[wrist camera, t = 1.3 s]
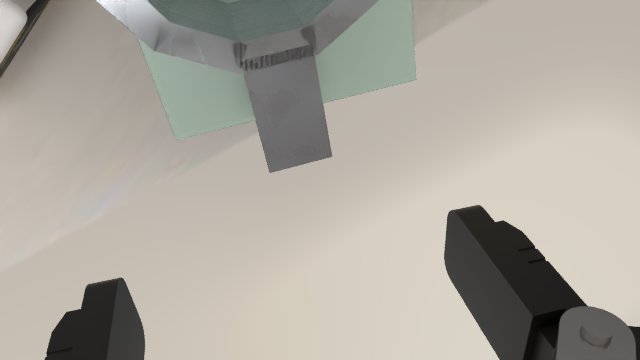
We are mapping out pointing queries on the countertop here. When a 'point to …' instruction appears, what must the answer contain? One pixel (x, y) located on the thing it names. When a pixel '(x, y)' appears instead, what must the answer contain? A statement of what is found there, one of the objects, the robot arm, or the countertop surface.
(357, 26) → the mat
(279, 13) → the ring
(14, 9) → the medicine bottle
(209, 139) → the countertop surface
